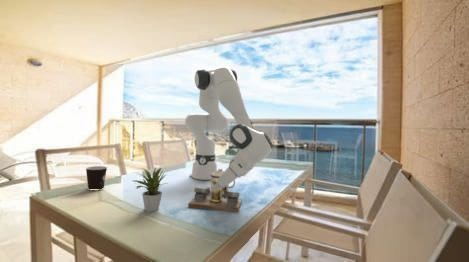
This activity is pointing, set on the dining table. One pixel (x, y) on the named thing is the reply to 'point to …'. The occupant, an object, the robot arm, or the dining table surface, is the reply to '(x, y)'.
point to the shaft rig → (204, 202)
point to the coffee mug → (96, 177)
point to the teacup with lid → (217, 175)
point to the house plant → (151, 190)
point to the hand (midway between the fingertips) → (215, 186)
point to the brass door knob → (216, 192)
